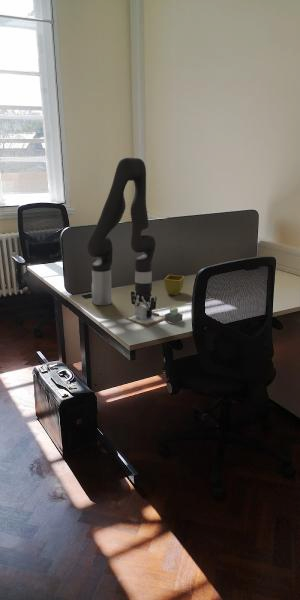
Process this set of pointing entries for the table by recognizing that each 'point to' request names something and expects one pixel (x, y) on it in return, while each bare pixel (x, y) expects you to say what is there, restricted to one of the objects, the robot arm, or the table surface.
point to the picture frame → (146, 322)
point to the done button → (173, 312)
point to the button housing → (173, 318)
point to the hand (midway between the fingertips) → (143, 315)
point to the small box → (141, 312)
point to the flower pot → (174, 284)
